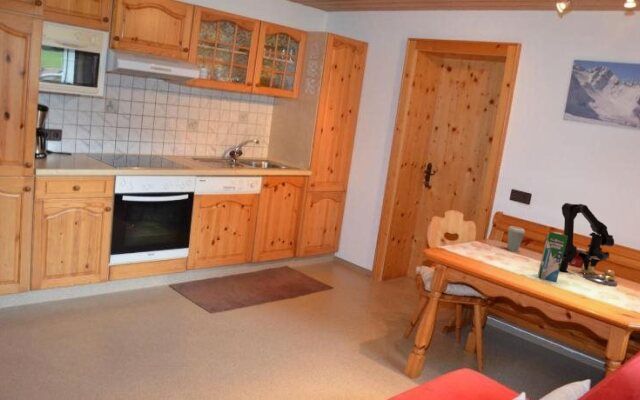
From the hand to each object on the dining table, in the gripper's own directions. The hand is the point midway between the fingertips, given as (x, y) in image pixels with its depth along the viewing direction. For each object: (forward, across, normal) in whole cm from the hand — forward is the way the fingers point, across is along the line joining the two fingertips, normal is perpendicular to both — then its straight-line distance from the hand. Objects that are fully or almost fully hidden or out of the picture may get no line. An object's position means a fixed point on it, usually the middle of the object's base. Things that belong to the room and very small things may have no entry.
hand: (588, 270), depth 336 cm
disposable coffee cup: (+2, -16, +45) cm, 48 cm away
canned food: (+2, +9, +16) cm, 19 cm away
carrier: (+2, -7, -13) cm, 15 cm away
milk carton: (+2, -49, -12) cm, 51 cm away
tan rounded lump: (+2, 0, 0) cm, 2 cm away
